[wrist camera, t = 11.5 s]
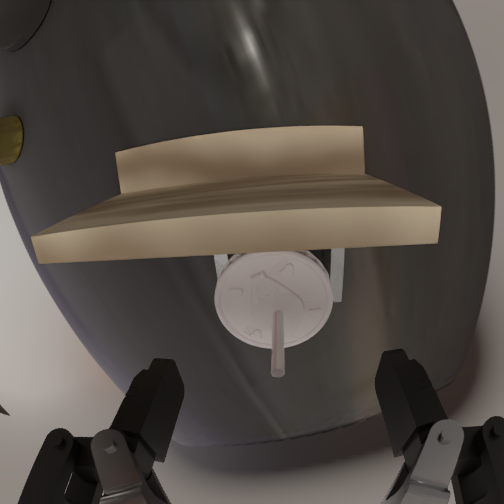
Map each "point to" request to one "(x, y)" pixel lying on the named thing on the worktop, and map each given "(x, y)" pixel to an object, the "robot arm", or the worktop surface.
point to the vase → (10, 139)
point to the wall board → (243, 200)
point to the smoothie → (274, 300)
